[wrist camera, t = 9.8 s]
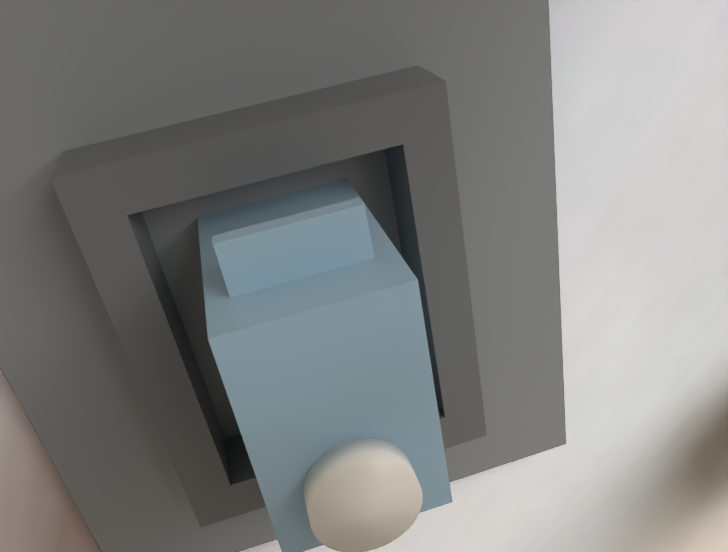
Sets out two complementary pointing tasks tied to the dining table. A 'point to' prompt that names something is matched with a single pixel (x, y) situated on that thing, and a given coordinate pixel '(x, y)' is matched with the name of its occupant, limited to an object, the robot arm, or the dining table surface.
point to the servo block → (324, 366)
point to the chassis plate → (250, 184)
